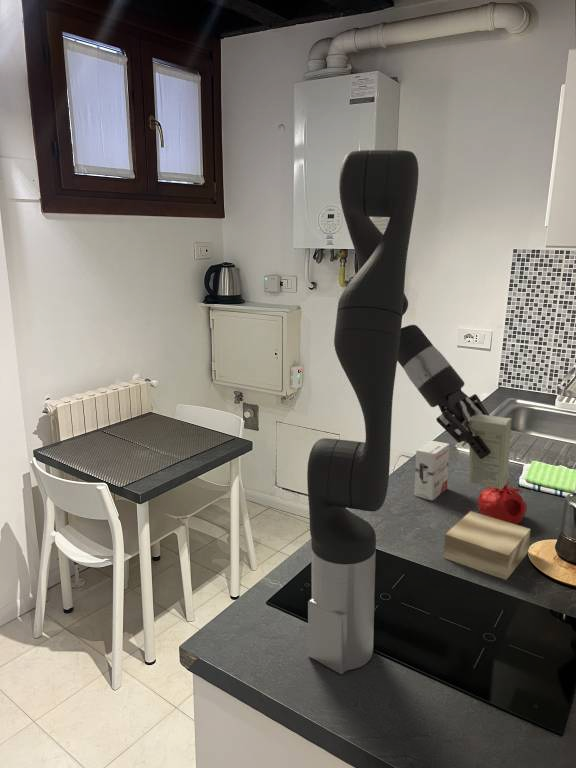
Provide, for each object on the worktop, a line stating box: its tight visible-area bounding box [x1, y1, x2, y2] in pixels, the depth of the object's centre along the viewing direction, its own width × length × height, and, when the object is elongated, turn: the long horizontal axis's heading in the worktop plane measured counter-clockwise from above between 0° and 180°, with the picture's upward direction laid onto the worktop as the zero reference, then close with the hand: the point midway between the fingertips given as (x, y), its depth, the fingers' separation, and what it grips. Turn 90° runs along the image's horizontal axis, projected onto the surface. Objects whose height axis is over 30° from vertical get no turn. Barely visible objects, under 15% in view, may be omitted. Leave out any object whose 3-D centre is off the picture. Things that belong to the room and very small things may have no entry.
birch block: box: [443, 510, 531, 581], centre depth 112 cm, size 12×12×5 cm
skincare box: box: [467, 414, 513, 489], centre depth 104 cm, size 6×4×12 cm
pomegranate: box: [477, 481, 528, 525], centre depth 125 cm, size 10×10×9 cm
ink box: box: [414, 440, 450, 501], centre depth 138 cm, size 9×5×12 cm, turn 141°
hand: (491, 451), depth 104 cm, fingers closed on skincare box, 4 cm apart
